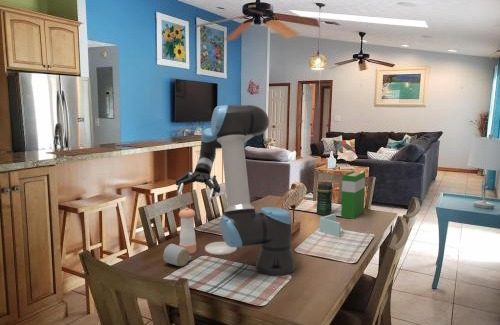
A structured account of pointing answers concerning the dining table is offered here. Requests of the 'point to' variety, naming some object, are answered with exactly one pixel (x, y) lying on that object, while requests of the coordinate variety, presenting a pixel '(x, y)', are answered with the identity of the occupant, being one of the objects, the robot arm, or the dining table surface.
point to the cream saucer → (219, 248)
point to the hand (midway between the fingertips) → (194, 197)
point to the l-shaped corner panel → (330, 225)
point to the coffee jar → (324, 198)
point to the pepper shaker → (187, 230)
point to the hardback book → (353, 194)
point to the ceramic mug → (176, 255)
